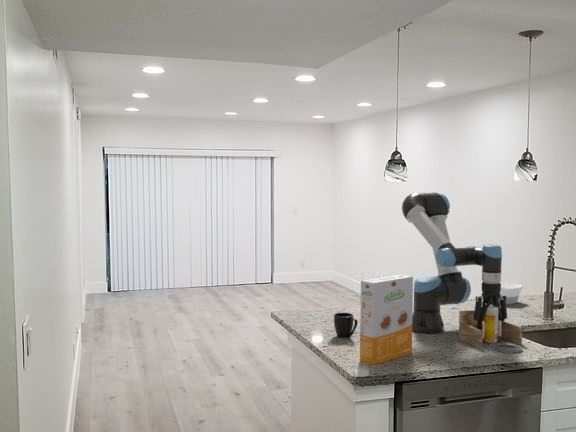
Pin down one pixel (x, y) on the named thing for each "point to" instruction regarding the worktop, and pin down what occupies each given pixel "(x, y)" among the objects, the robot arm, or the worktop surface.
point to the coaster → (508, 348)
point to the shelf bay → (474, 335)
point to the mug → (344, 324)
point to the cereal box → (386, 318)
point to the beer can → (491, 325)
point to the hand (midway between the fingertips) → (489, 336)
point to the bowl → (510, 292)
